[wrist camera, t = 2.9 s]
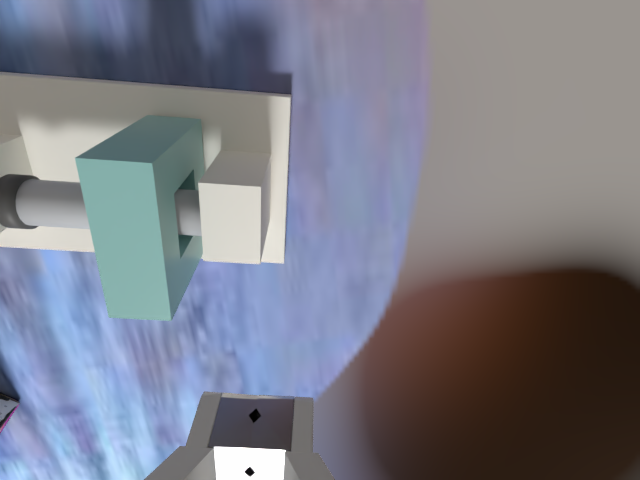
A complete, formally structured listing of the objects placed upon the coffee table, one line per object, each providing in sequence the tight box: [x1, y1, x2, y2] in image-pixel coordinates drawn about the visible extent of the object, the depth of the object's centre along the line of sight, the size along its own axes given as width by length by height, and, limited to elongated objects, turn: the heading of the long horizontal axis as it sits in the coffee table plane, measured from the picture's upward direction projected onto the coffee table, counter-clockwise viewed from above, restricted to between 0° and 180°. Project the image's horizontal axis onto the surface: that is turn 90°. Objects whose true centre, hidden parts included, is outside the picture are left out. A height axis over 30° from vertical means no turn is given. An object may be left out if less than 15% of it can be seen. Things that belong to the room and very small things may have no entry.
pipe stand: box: [0, 72, 291, 264], centre depth 23 cm, size 20×11×7 cm, turn 86°
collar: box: [75, 115, 204, 321], centre depth 22 cm, size 3×8×8 cm, turn 176°
